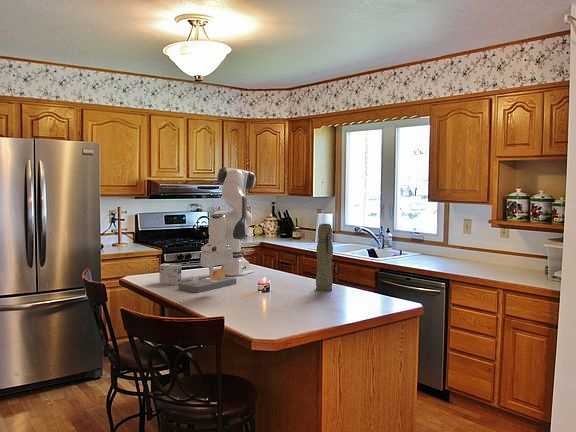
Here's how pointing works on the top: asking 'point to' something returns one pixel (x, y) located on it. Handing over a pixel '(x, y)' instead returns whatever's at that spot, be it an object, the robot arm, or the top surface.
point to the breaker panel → (207, 284)
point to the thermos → (324, 258)
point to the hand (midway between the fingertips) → (217, 273)
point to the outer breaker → (194, 279)
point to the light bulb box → (170, 274)
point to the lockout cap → (218, 273)
